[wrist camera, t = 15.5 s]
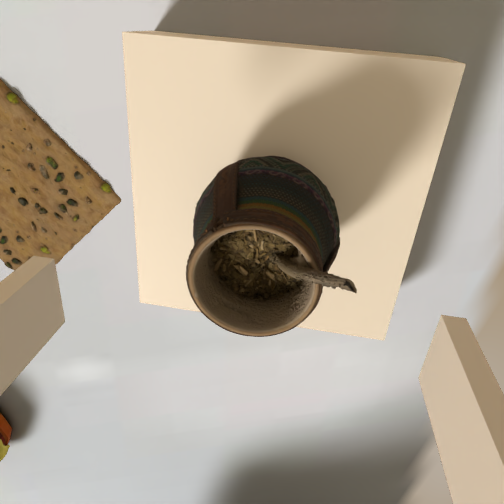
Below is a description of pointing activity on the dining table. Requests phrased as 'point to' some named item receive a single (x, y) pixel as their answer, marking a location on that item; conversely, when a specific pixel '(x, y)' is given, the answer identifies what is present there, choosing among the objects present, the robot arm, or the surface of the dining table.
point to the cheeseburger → (4, 436)
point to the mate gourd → (263, 246)
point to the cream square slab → (286, 151)
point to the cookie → (43, 188)
